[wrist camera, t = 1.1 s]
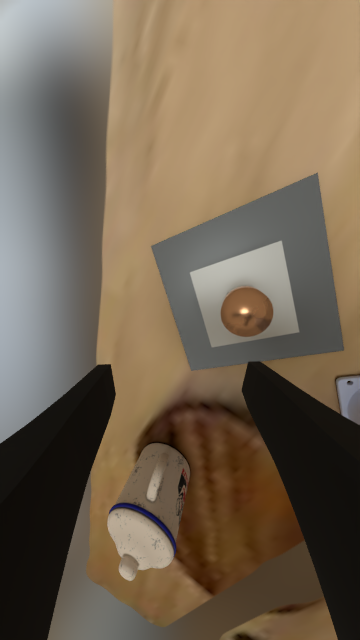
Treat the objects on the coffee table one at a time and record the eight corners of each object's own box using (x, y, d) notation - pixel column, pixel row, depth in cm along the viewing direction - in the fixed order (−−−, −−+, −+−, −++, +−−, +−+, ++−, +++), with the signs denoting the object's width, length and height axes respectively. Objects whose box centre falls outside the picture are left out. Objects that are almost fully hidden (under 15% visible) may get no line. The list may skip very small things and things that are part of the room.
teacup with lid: (185, 492, 29) (158, 619, 19) (138, 467, 31) (88, 569, 21) (202, 443, 26) (179, 567, 15) (147, 418, 27) (92, 513, 17)
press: (315, 175, 14) (353, 129, 10) (341, 348, 17) (381, 376, 13) (152, 246, 20) (128, 239, 15) (192, 369, 23) (181, 393, 18)
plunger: (266, 260, 14) (287, 253, 8) (278, 318, 15) (305, 346, 9) (206, 279, 16) (191, 283, 10) (220, 330, 16) (214, 359, 11)
